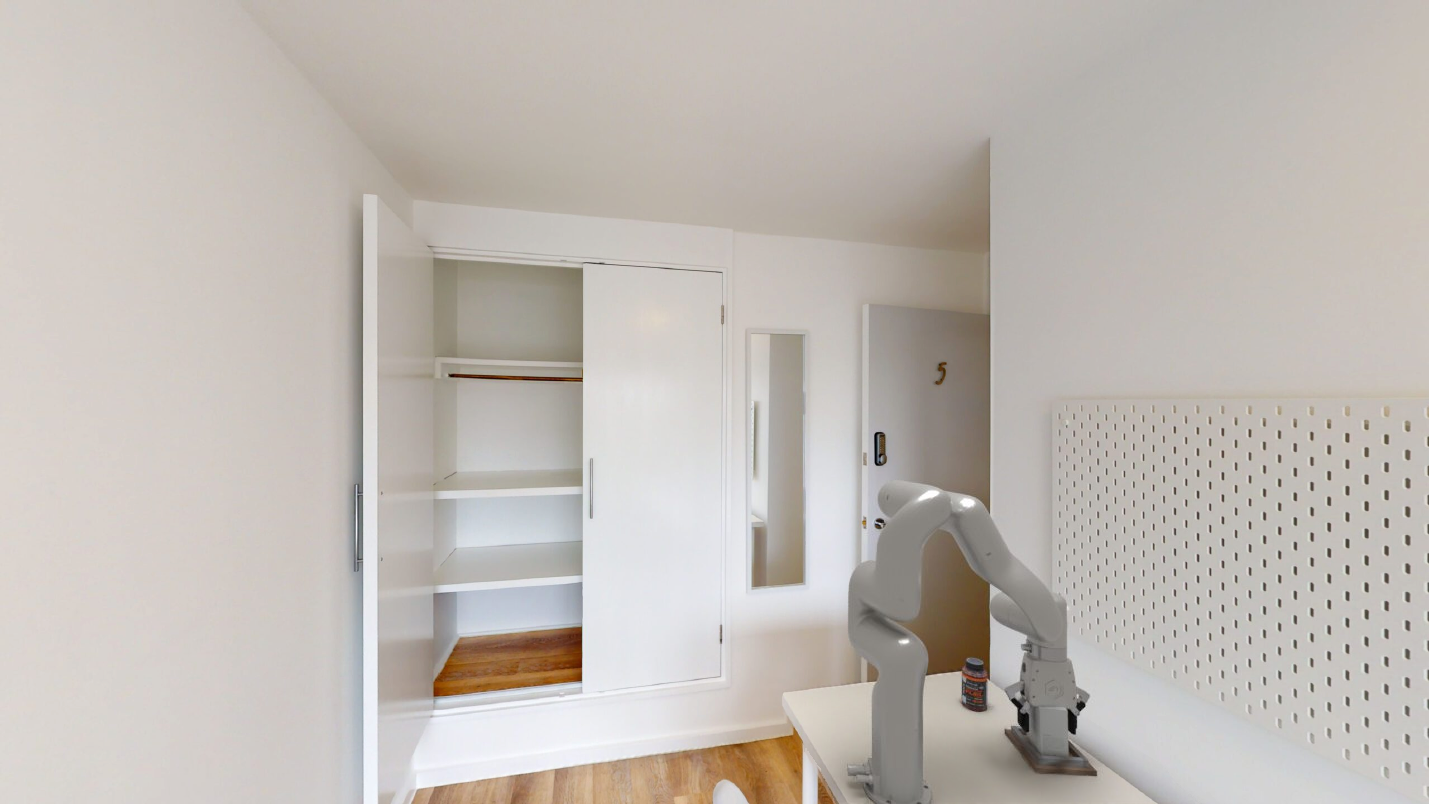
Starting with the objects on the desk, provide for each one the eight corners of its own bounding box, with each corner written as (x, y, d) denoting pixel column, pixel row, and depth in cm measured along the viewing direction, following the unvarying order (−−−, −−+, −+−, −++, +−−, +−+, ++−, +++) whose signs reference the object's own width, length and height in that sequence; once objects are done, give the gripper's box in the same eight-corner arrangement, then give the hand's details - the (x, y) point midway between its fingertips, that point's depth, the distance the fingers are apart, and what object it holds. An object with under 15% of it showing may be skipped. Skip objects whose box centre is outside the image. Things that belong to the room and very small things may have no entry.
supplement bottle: (963, 710, 137) (963, 664, 137) (960, 698, 142) (959, 654, 143) (989, 713, 135) (989, 667, 135) (985, 701, 140) (985, 657, 141)
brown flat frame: (1035, 772, 112) (1035, 761, 113) (1004, 733, 126) (1004, 723, 126) (1096, 775, 112) (1096, 763, 112) (1058, 735, 126) (1058, 725, 126)
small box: (1069, 761, 115) (1068, 710, 115) (1040, 758, 116) (1039, 707, 116) (1052, 739, 122) (1052, 691, 123) (1025, 736, 124) (1025, 689, 124)
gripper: (1013, 656, 116) (1014, 738, 116) (1098, 659, 115) (1099, 742, 115) (998, 641, 124) (998, 718, 123) (1077, 645, 123) (1078, 722, 122)
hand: (1047, 730), depth 119 cm, fingers open, 9 cm apart
